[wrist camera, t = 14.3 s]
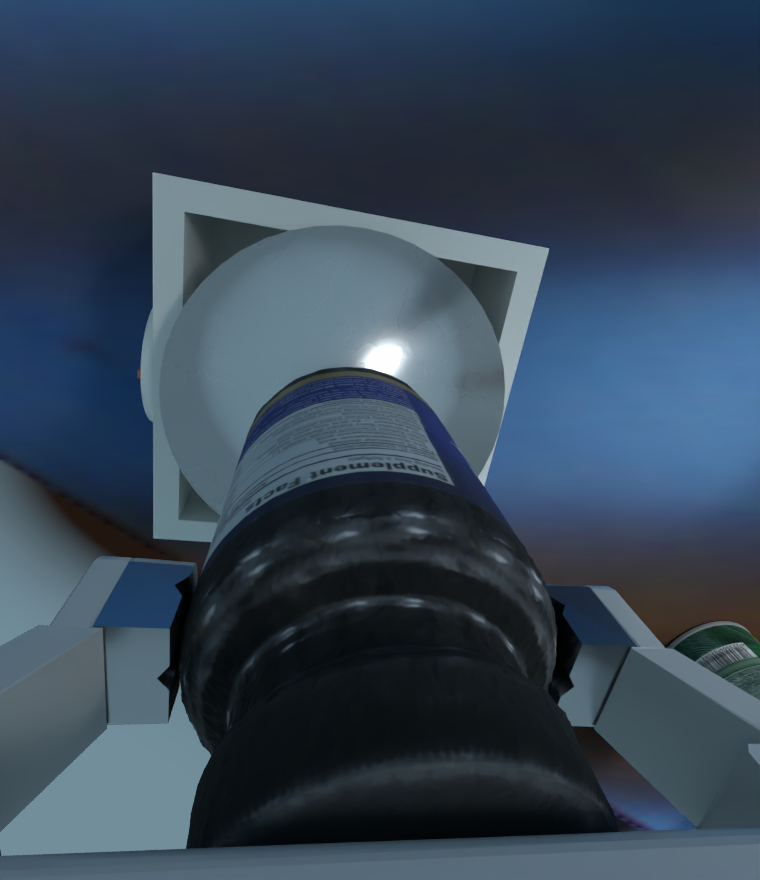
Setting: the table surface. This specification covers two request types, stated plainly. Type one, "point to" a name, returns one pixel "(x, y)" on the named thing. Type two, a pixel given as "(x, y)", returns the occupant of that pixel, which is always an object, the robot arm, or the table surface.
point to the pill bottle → (372, 640)
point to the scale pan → (324, 342)
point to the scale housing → (261, 216)
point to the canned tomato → (724, 653)
